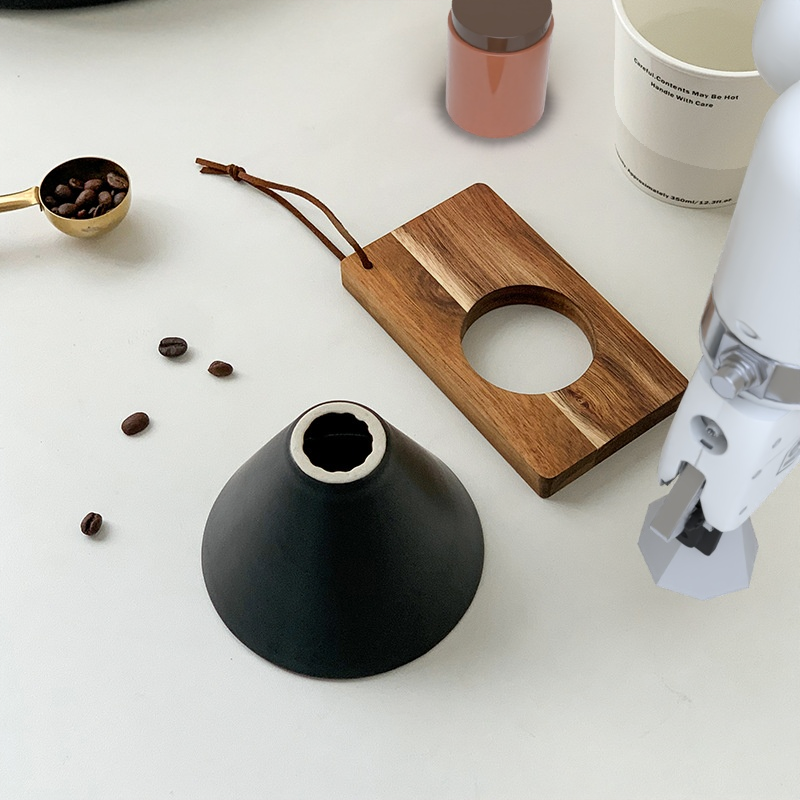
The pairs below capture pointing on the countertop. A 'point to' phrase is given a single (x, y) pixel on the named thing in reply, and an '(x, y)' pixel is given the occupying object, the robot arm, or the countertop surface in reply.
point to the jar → (498, 64)
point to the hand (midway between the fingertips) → (711, 511)
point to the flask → (699, 561)
